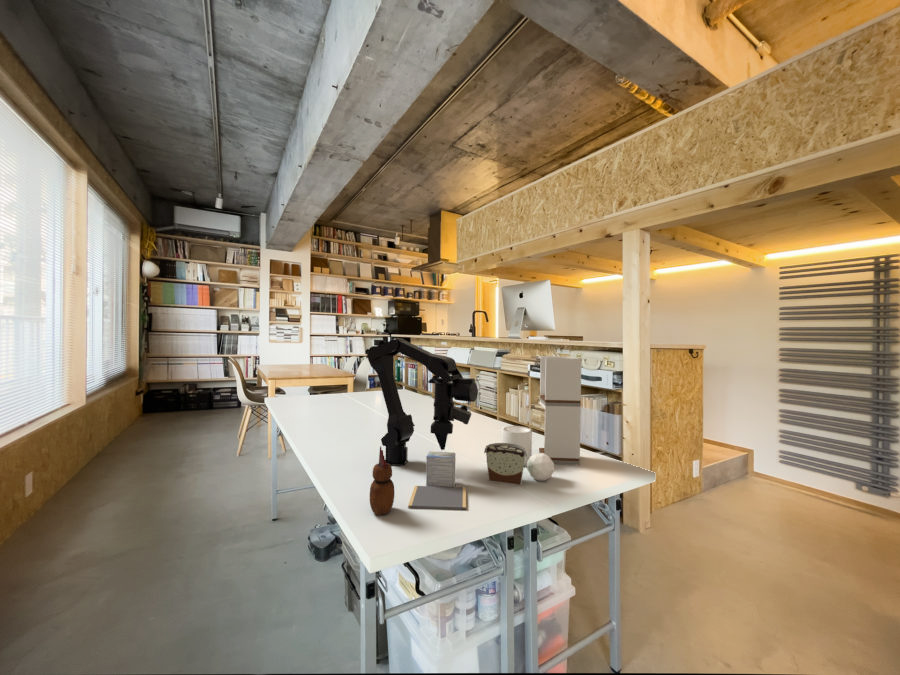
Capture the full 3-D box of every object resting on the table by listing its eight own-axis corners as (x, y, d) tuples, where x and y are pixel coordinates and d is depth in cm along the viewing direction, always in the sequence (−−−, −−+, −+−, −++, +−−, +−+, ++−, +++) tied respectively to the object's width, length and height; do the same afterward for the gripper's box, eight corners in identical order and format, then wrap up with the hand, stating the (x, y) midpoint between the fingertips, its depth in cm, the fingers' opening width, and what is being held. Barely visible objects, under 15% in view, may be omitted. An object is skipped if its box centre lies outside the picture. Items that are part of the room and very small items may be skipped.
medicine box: (455, 482, 108) (455, 452, 108) (454, 488, 103) (454, 457, 103) (428, 480, 108) (428, 450, 108) (425, 487, 104) (426, 455, 104)
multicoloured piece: (529, 478, 111) (529, 445, 111) (526, 486, 105) (527, 451, 105) (488, 473, 115) (488, 440, 115) (483, 480, 109) (484, 446, 109)
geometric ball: (546, 488, 111) (564, 468, 110) (532, 485, 106) (550, 464, 104) (531, 468, 117) (547, 449, 115) (517, 464, 112) (534, 445, 110)
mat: (408, 508, 91) (408, 505, 91) (414, 487, 103) (414, 485, 103) (465, 509, 90) (465, 507, 90) (465, 489, 102) (465, 487, 102)
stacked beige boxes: (571, 454, 134) (572, 356, 134) (579, 464, 124) (581, 358, 123) (539, 453, 135) (540, 356, 135) (544, 463, 124) (546, 358, 124)
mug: (493, 453, 134) (493, 424, 134) (520, 452, 136) (520, 423, 136) (507, 467, 121) (507, 434, 120) (536, 465, 123) (537, 432, 123)
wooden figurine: (371, 505, 92) (372, 444, 92) (395, 504, 93) (395, 444, 93) (367, 518, 86) (368, 453, 86) (393, 517, 86) (393, 452, 86)
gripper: (470, 405, 105) (469, 460, 105) (469, 394, 124) (468, 441, 124) (430, 404, 105) (429, 459, 106) (435, 393, 124) (435, 440, 124)
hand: (442, 449), depth 115 cm, fingers closed
